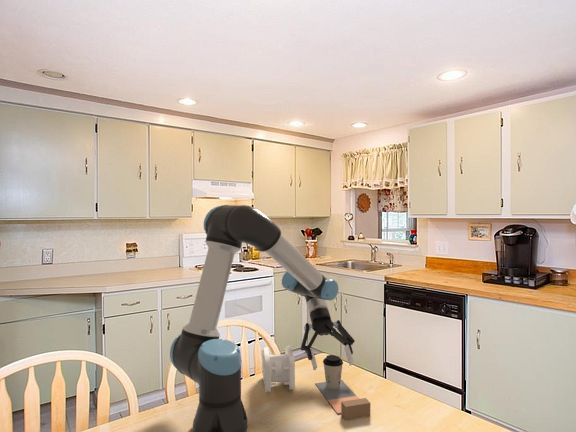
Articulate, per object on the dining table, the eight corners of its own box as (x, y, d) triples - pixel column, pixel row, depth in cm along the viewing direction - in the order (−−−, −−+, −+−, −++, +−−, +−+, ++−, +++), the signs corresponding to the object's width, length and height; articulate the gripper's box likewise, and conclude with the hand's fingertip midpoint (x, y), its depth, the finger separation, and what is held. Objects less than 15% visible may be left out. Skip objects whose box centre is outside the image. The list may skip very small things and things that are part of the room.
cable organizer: (295, 394, 125) (295, 360, 124) (263, 396, 123) (263, 361, 123) (290, 374, 139) (289, 343, 139) (261, 376, 138) (261, 345, 138)
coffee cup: (347, 389, 127) (347, 360, 127) (328, 393, 125) (328, 363, 124) (336, 380, 134) (336, 352, 134) (319, 384, 131) (319, 355, 131)
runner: (373, 415, 112) (373, 402, 112) (342, 420, 109) (342, 407, 109) (341, 380, 134) (341, 369, 134) (315, 384, 132) (315, 372, 132)
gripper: (345, 313, 151) (362, 366, 137) (285, 319, 144) (297, 374, 130) (351, 304, 145) (369, 357, 131) (289, 309, 139) (301, 366, 125)
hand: (333, 366), depth 130 cm, fingers open, 13 cm apart
